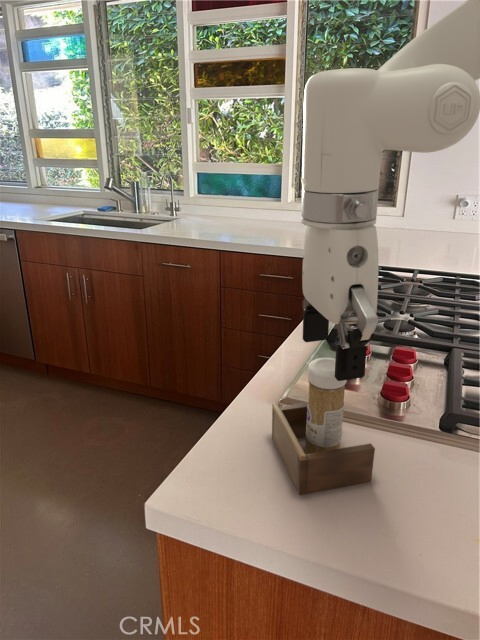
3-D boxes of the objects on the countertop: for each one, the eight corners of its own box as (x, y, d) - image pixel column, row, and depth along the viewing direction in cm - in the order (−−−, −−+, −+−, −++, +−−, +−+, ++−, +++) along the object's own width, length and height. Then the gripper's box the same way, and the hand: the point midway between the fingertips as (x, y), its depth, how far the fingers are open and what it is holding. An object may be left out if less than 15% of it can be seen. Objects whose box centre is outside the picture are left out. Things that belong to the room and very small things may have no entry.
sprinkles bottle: (298, 451, 60) (301, 359, 55) (329, 443, 62) (335, 353, 57) (314, 474, 56) (319, 377, 51) (347, 465, 58) (355, 370, 53)
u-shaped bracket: (333, 428, 65) (336, 394, 63) (371, 482, 55) (375, 444, 53) (271, 438, 63) (272, 403, 61) (299, 496, 53) (300, 456, 51)
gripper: (421, 220, 40) (400, 391, 46) (338, 194, 55) (331, 325, 62) (339, 226, 38) (330, 402, 45) (278, 198, 54) (277, 332, 61)
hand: (330, 357), depth 54 cm, fingers open, 9 cm apart
